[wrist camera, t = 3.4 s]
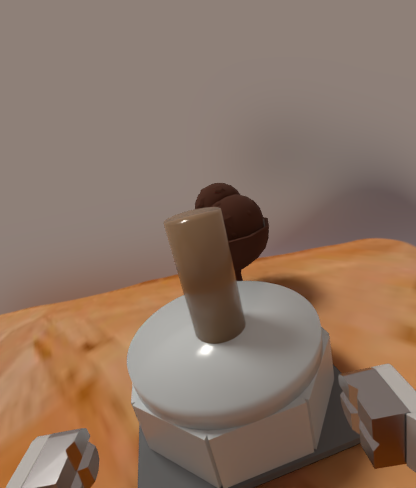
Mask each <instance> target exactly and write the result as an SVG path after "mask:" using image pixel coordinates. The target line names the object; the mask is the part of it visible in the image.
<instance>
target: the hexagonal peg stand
mask: <svg viewBox="0 0 416 488" xmlns="http://www.w3.org/2000/svg"><path fill="white" fill-rule="evenodd" d="M164 226H165V230H166V233H167V237H168V240H169V244H170V247H171V251H172V254H173V258H174V261H175V265H176V268H177V271H178V275H179V279H180V282H181V286H182V289H183V293H184V295H183V296H181V297H179V298H177V299H175V300H173V301H171V302H170V303H168V304H166V305H165V306H163V307H162V308H160V309H159V310H158V311H156V312H155V313H154V314H153V315H152V316H151V317H150V318H148V319H147V320H146V321H145V323H144V324H143V325H142V326H141V327H140V328H139V330H138V331H137V333H136V334H135V336H134V338H133V340H132V341H131V344H130V347H129V350H128V355H127V367H128V372H129V375H130V378H131V380H132V383H133V384H132V399H131V404H132V406H133V409H134V411H135V414H136V416H137V419H138V421H139V423H140V426H141V428H142V431H143V433H144V436H145V438H146V441H147V443H148V446H149V447H150V449H152V450H154V451H155V452H157V453H159V454H161V455H162V456H164V457H166V458H167V459H169V460H171V461H173V462H174V463H176V464H178V465H179V466H181V467H183V468H185V469H186V470H188V471H190V472H191V473H193V474H195V475H197V476H198V477H200V478H202V479H203V480H205V481H207V482H209V483H210V484H212V485H214V486H215V487H217V488H221V486H223V488H228V487H231V486H233V485H236V484H238V483H240V482H243V481H245V480H248V479H250V478H253V477H255V476H257V475H260V474H262V473H265V472H267V471H270V470H272V469H274V468H277V467H279V466H282V465H284V464H287V463H289V462H292V461H294V460H296V459H299V458H301V457H304V456H306V455H309V454H311V453H313V452H314V449H317V446H318V442H319V438H320V434H321V430H322V426H323V422H324V418H325V414H326V410H327V406H328V402H329V398H330V394H331V390H332V386H333V382H334V371H333V362H332V353H331V344H330V336H329V333H328V332H327V331H325V330H324V329H323V328H322V327H321V325H320V320H319V317H318V314H317V312H316V310H315V309H314V307H313V306H312V304H311V303H310V302H309V301H308V300H307V299H306V298H304V297H303V296H302V295H300V294H299V293H297V292H295V291H293V290H291V289H289V288H286V287H284V286H280V285H277V284H273V283H267V282H259V281H237V280H236V276H235V271H234V266H233V262H232V257H231V253H230V248H229V243H228V239H227V234H226V230H225V225H224V220H223V216H222V211H221V208H219V207H206V208H200V209H195V210H191V211H187V212H184V213H180V214H177V215H175V216H172V217H170V218H168V219H167V220H165V221H164Z"/></svg>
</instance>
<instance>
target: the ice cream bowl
mask: <svg viewBox="0 0 416 488" xmlns="http://www.w3.org/2000/svg"><path fill="white" fill-rule="evenodd" d="M206 207H219V208H221V211H222V216H223V220H224V225H225V230H226V234H227V239H228V243H229V248H230V253H231V257H232V262H233V266H234V271H235V276H236V280H237V281H243V280H242V276H241V269H243V268H245V267H246V266H248V265H249V264H251V263H252V262H253V261H254V260H255V259H257V258H258V257H259V255H260V254H261V253H262V252H263V250H264V249H265V247H266V244H267V241H268V233H269V230H268V229H269V224H268V218H264V217H263V215H262V213H261V210H260V208H259V206H258V205H257V204H256V203H255V202H254V201H253V200H251V199H249V198H248V197H246V196H242V195H240V194H239V192H238V191H237V190H236V189H235V188H234V187H232V186H231V185H228V184H225V183H214V184H211V185H209V186H207V187H206V188H204V189H202V190H201V192H200V194H199V195H198V197H197V200H196V203H195V209H200V208H206Z"/></svg>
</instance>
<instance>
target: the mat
mask: <svg viewBox="0 0 416 488" xmlns="http://www.w3.org/2000/svg"><path fill="white" fill-rule="evenodd" d="M333 371H334V382H333V386H332V390H331V394H330V398H329V402H328V406H327V410H326V414H325V418H324V422H323V426H322V430H321V434H320V438H319V442H318V446H317V449H314V452H313V453H311V454H309V455H306V456H304V457H301V458H299V459H296V460H294V461H292V462H289V463H287V464H284V465H282V466H279V467H277V468H274V469H272V470H270V471H267V472H265V473H262V474H260V475H257V476H255V477H253V478H250V479H248V480H245V481H243V482H240V483H238V484H236V485H233V486H231V487H228V488H254V487H256V486H258V485H261V484H263V483H266V482H268V481H270V480H273V479H275V478H278V477H280V476H282V475H285V474H287V473H290V472H292V471H294V470H297V469H299V468H302V467H304V466H306V465H309V464H311V463H314V462H316V461H318V460H321V459H323V458H326V457H328V456H331V455H333V454H335V453H338V452H340V451H343V450H345V449H347V448H350V447H352V446H355V445H357V444H359V443H361V442H360V434H358V433H357V432H355V431H354V430H352V428H351V426H350V424H349V423H348V421H347V418H346V416H345V414H344V411H343V408H342V404H341V398H340V395H341V393H342V392H343V390H342V388H341V387H340V385H339V379H338V377H339V374H342V373H341V372H340V371H339V370H338V369H337V368H336V367H335V366H334V365H333ZM138 488H217V487H215V486H214V485H212V484H210V483H209V482H207V481H205V480H203V479H202V478H200V477H198V476H197V475H195V474H193V473H191V472H190V471H188V470H186V469H185V468H183V467H181V466H179V465H178V464H176V463H174V462H173V461H171V460H169V459H167V458H166V457H164V456H162V455H161V454H159V453H157V452H155V451H154V450H152V449H150V447H149V446H148V443H147V441H146V438H145V436H144V433H143V431H142V428H141V426H140V427H139V463H138ZM221 488H223V486H221Z"/></svg>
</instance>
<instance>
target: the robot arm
mask: <svg viewBox="0 0 416 488" xmlns="http://www.w3.org/2000/svg"><path fill="white" fill-rule="evenodd" d="M338 379H339V385H340V387H341V388H342V390H343V392H342V393H341V395H340V398H341V404H342V408H343V411H344V414H345V416H346V418H347V421H348V423H349V424H350V426H351V428H352V430H354V431H355V432H357V433H358V434H360V442H361V446H362V448H363V449H364V451H365V453H366V455H367V456H368V458H369V460H370V462H371V463H372V465H373V467H374V469H377V468H383V467H389V466H395V465H402V464H407V466H408V467H409V468H410V469H412V470H413V471H414V472H416V391H415V390H414V389H413V388H412V387H411V385H410V384H409V383H408V382H407V381H406V380H405V379H404V378H403V377H402V376H401V375H400V374H399V373H398V372H397V370H396V369H395V368H394V367H393V366H392V365H390V364H384V365H379V366H375V367H371V368H365V369H361V370H356V371H352V372H347V373H343V374H339V377H338ZM89 438H90V434H89V433H88V431H87V429H86V428H82V429H76V430H71V431H65V432H59V433H54V434H50V435H44V436H39V437H37V438H36V439H35V440H34V441H33V442H32V443H31V445H30V447H29V448H28V450H27V452H26V454H25V455H24V457H23V459H22V460H21V462H20V464H19V466H18V467H17V469H16V471H15V473H14V474H13V476H12V478H11V480H10V481H9V483H8V485H7V486H6V488H90V487H91V486H92V485H93V484H94V482H95V480H96V477H97V474H98V469H99V455H98V451H97V449H96V446H95V445H93V444H91V443H90V442H88V441H89Z"/></svg>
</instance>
